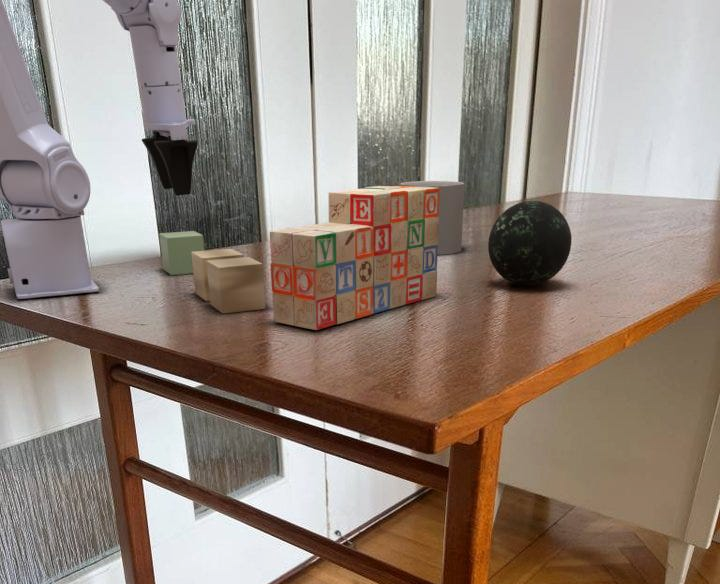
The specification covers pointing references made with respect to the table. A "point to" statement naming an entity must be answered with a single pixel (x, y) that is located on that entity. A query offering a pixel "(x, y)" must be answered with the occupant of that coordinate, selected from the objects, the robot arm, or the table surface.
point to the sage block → (179, 251)
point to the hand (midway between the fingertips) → (176, 191)
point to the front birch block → (236, 284)
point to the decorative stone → (529, 243)
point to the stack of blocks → (357, 257)
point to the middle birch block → (201, 268)
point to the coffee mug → (447, 213)
